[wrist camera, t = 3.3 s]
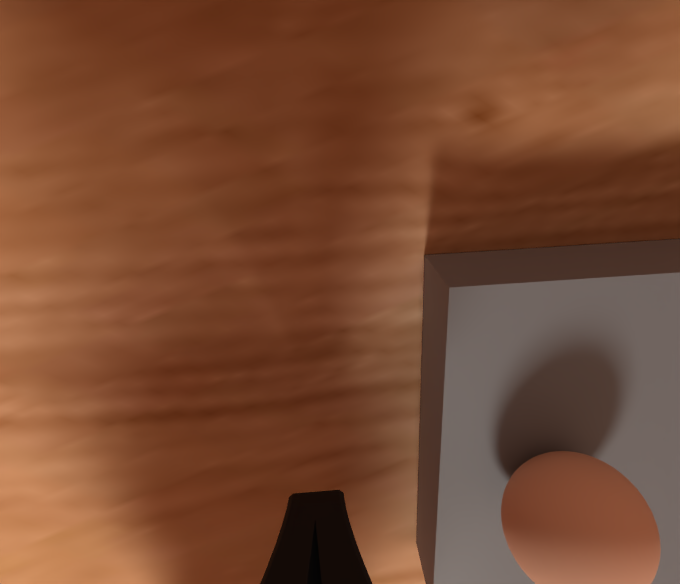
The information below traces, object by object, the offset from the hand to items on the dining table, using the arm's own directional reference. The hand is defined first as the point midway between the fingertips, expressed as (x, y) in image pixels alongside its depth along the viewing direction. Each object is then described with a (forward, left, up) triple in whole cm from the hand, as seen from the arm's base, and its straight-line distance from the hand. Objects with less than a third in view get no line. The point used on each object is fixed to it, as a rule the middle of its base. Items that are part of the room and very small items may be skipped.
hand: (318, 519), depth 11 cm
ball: (0, -6, +1) cm, 7 cm away
